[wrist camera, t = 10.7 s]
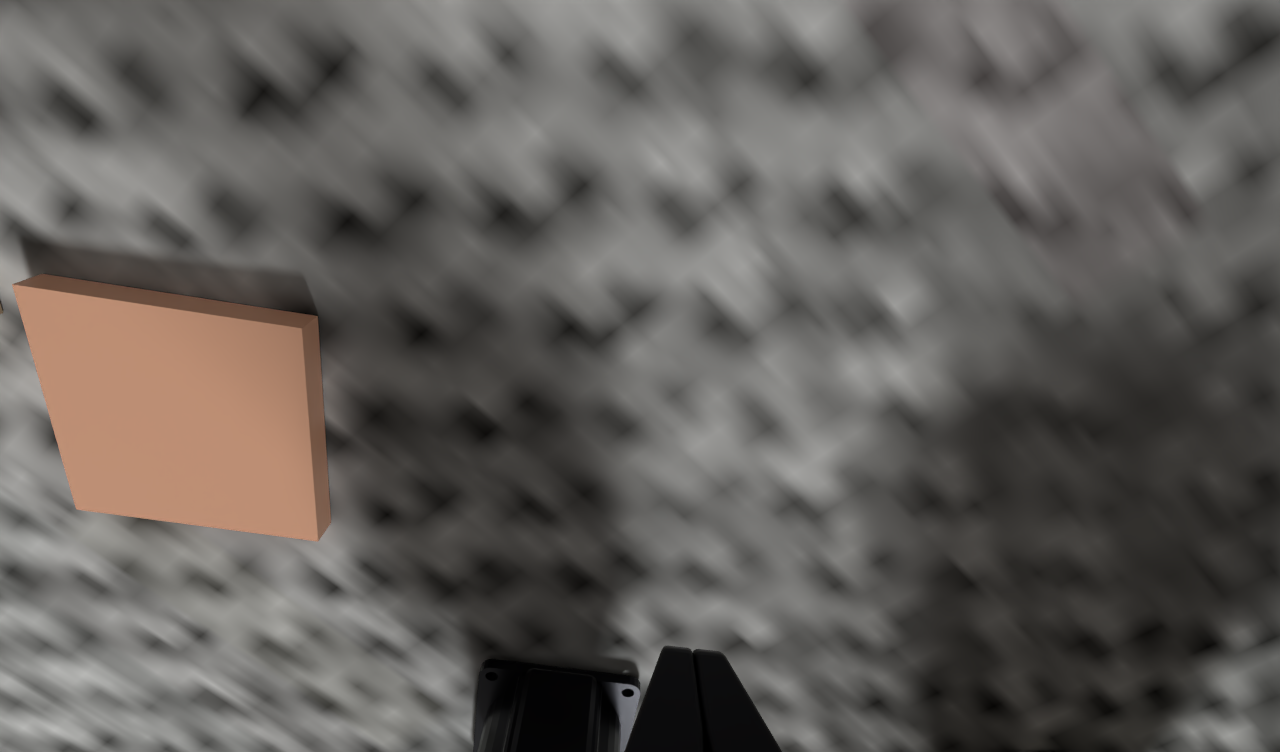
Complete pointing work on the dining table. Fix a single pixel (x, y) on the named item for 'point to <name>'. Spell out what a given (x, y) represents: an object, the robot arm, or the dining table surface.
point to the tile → (182, 405)
